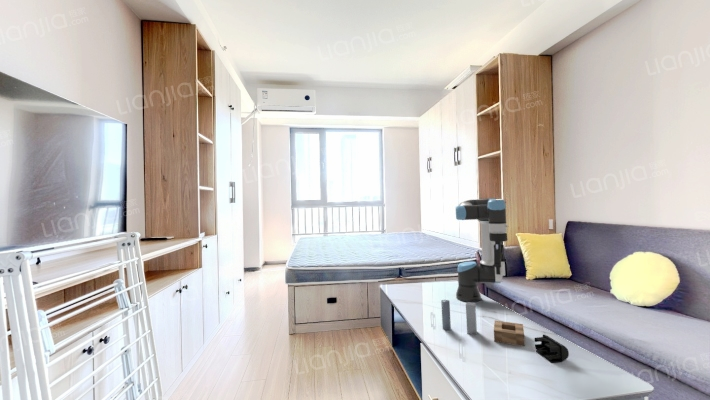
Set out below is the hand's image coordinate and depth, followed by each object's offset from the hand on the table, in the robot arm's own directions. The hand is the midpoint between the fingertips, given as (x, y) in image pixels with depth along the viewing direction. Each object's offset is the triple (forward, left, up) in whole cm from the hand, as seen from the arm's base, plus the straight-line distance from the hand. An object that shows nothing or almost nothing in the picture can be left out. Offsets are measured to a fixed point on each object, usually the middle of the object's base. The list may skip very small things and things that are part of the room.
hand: (500, 278), depth 135 cm
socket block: (0, +2, -28) cm, 28 cm away
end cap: (+11, +17, -28) cm, 34 cm away
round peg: (0, -26, -28) cm, 38 cm away
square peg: (0, -14, -28) cm, 31 cm away
